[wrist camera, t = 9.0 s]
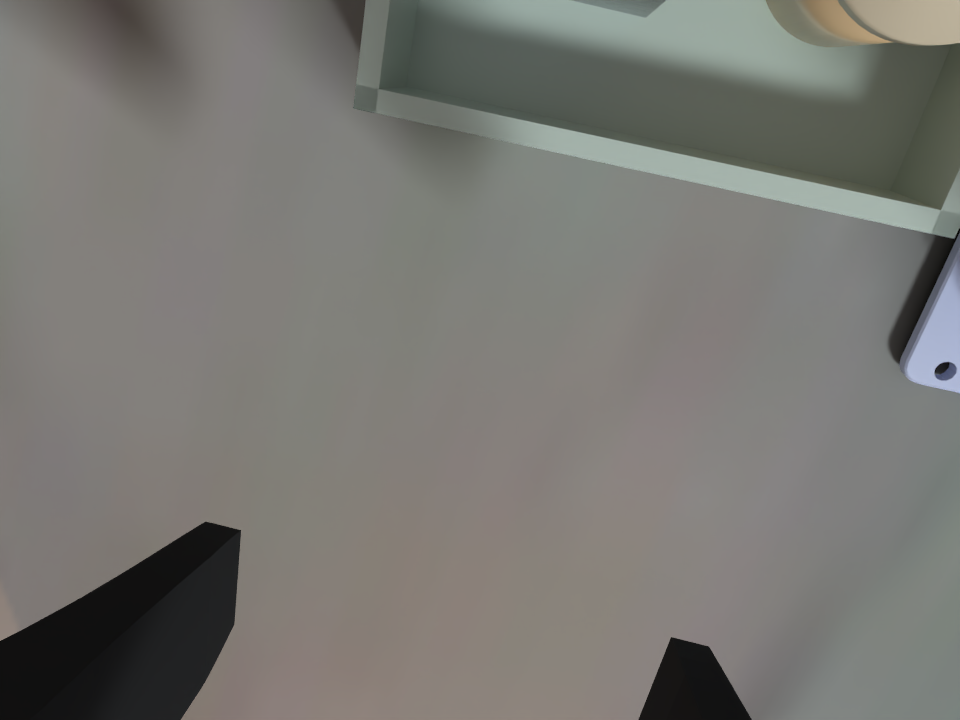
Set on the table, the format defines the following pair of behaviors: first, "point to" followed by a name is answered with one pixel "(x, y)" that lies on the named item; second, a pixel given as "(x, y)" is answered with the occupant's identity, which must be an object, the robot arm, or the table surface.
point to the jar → (869, 21)
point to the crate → (683, 98)
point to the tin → (627, 5)
